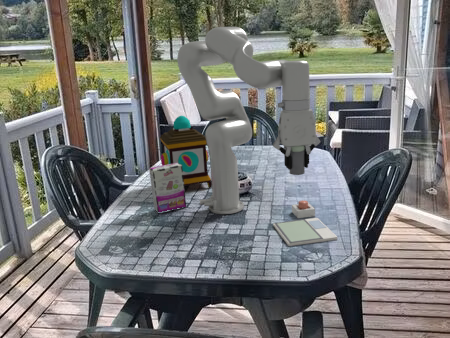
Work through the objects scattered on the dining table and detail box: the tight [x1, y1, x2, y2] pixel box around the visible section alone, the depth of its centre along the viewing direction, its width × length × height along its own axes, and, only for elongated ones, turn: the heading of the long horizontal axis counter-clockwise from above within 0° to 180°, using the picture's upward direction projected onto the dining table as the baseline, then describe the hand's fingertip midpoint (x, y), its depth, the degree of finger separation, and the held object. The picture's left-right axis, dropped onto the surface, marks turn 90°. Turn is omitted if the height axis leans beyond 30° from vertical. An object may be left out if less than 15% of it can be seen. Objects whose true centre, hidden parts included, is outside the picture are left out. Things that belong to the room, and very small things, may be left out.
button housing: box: [291, 202, 316, 219], centre depth 150 cm, size 6×6×3 cm
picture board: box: [272, 217, 339, 247], centre depth 136 cm, size 15×16×1 cm
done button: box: [297, 200, 309, 210], centre depth 150 cm, size 3×3×3 cm
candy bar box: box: [148, 163, 187, 213], centre depth 160 cm, size 11×5×16 cm, turn 117°
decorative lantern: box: [159, 115, 212, 188], centre depth 184 cm, size 20×20×30 cm
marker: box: [289, 146, 306, 176], centre depth 129 cm, size 4×4×9 cm
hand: (296, 166), depth 130 cm, fingers closed on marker, 4 cm apart
